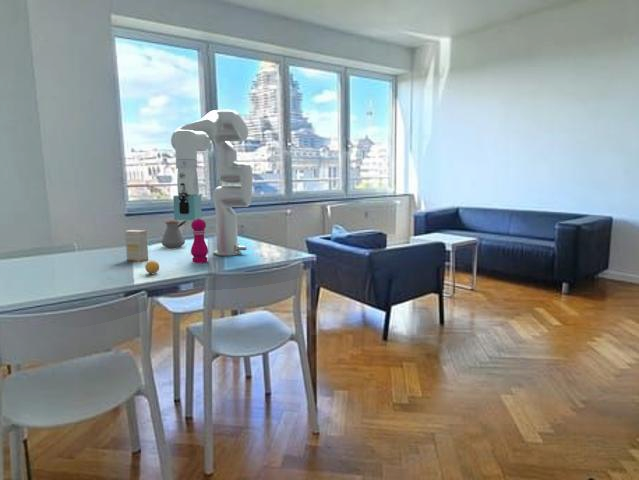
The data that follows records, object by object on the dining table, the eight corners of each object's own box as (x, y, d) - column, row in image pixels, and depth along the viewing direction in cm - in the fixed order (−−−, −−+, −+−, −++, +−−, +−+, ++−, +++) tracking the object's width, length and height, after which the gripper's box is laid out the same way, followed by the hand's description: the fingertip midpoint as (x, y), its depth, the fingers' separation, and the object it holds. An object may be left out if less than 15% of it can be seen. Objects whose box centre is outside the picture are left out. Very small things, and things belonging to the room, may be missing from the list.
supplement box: (149, 259, 202) (147, 230, 200) (140, 262, 198) (138, 231, 196) (135, 258, 206) (133, 229, 204) (126, 260, 201) (124, 230, 199)
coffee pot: (157, 246, 234) (156, 217, 232) (179, 244, 242) (178, 215, 239) (176, 253, 218) (174, 221, 216) (198, 250, 226) (197, 219, 223)
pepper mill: (211, 260, 201) (210, 214, 198) (202, 264, 195) (200, 216, 191) (197, 259, 204) (195, 214, 200) (187, 262, 197) (185, 215, 194)
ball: (161, 272, 179) (161, 259, 179) (156, 275, 174) (155, 262, 174) (149, 271, 180) (148, 259, 179) (143, 274, 175) (142, 261, 174)
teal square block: (201, 218, 176) (200, 194, 175) (195, 220, 169) (194, 196, 167) (181, 217, 177) (181, 194, 175) (174, 220, 169) (173, 195, 168)
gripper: (188, 164, 161) (190, 215, 163) (204, 165, 178) (205, 210, 181) (167, 164, 161) (169, 214, 164) (184, 164, 178) (186, 210, 181)
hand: (188, 212), depth 172 cm, fingers closed on teal square block, 7 cm apart
